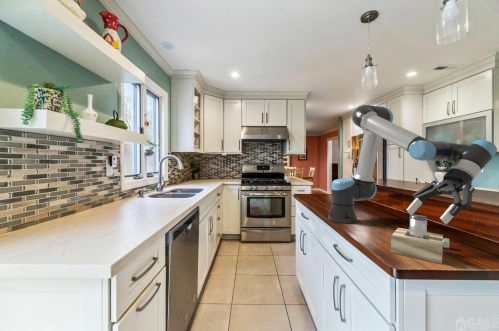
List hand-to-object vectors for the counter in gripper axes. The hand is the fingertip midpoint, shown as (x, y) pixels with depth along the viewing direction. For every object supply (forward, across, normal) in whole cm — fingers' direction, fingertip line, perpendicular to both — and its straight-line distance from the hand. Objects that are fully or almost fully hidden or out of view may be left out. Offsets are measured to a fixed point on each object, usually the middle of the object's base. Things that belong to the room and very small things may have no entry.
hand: (424, 216), depth 82 cm
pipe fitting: (+1, +6, -18) cm, 19 cm away
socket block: (+11, +1, -8) cm, 13 cm away
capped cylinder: (+10, +1, -7) cm, 12 cm away
